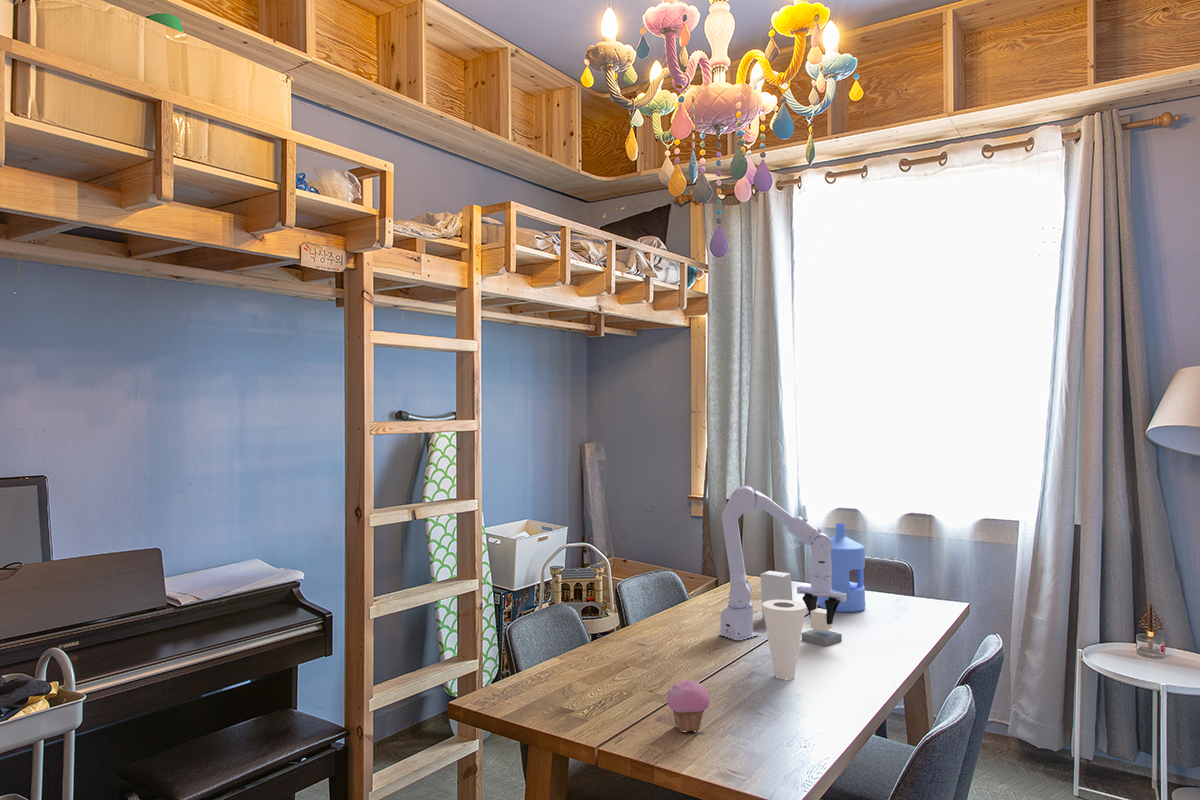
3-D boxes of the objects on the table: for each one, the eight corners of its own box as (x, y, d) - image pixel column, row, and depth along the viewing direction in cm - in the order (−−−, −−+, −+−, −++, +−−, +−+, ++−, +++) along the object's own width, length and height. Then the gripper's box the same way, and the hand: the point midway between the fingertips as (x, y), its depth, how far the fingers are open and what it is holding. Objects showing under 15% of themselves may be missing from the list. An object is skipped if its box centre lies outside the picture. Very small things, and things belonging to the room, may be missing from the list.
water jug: (816, 611, 249) (816, 526, 250) (817, 599, 264) (816, 520, 265) (866, 614, 245) (865, 528, 245) (864, 602, 260) (863, 521, 260)
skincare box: (793, 620, 239) (793, 573, 239) (783, 624, 235) (782, 576, 235) (771, 615, 245) (770, 569, 245) (760, 618, 241) (760, 572, 241)
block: (825, 631, 215) (824, 613, 215) (810, 628, 218) (810, 610, 218) (832, 628, 218) (832, 610, 218) (817, 625, 221) (817, 607, 221)
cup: (775, 686, 182) (775, 612, 182) (755, 671, 192) (754, 601, 192) (814, 682, 184) (814, 608, 185) (792, 667, 195) (792, 598, 195)
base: (825, 646, 212) (825, 639, 212) (801, 639, 218) (801, 632, 218) (841, 641, 217) (841, 634, 217) (818, 634, 223) (818, 627, 223)
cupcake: (705, 721, 162) (705, 674, 162) (712, 738, 153) (712, 689, 153) (664, 721, 161) (664, 675, 162) (669, 739, 153) (669, 690, 153)
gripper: (791, 573, 220) (792, 620, 220) (838, 581, 210) (839, 629, 210) (803, 569, 225) (803, 615, 225) (849, 576, 215) (850, 624, 215)
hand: (821, 622), depth 218 cm, fingers closed on block, 4 cm apart
